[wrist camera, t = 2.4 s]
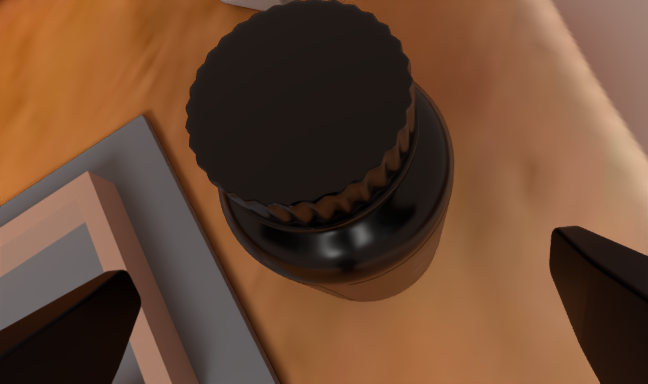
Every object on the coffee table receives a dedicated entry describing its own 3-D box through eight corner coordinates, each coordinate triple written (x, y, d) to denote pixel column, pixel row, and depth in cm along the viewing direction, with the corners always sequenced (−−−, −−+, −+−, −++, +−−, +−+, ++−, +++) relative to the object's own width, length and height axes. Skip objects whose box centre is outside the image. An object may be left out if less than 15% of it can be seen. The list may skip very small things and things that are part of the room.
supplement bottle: (383, 135, 20) (351, -94, 9) (470, 249, 18) (569, 120, 7) (268, 210, 20) (98, 70, 9) (339, 334, 18) (224, 345, 7)
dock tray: (301, 425, 17) (283, 441, 15) (-62, 664, 17) (-140, 720, 15) (148, 119, 24) (118, 95, 21) (-114, 290, 24) (-174, 285, 21)
